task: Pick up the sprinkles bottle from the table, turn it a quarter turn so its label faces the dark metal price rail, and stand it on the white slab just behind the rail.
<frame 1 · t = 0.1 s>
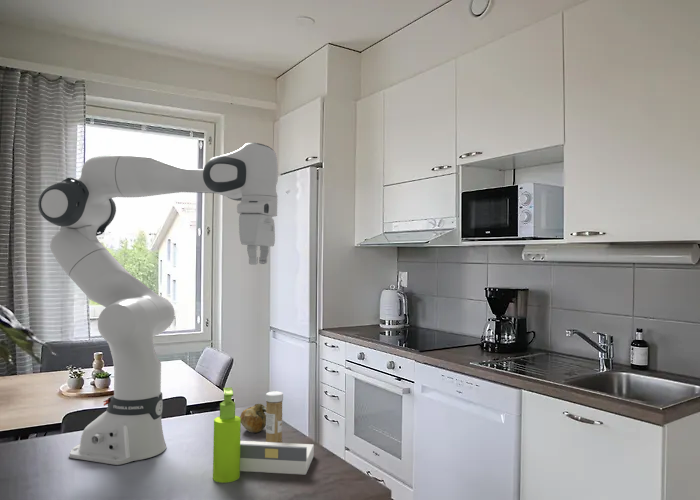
hand: (258, 264, 131), 48 cm above the table, fingers open, 8 cm apart
white slab: (268, 462, 127), on the table
onion: (253, 431, 150), on the table
sprinkles bottle: (273, 444, 140), on the table
soap dispenser: (226, 479, 118), on the table
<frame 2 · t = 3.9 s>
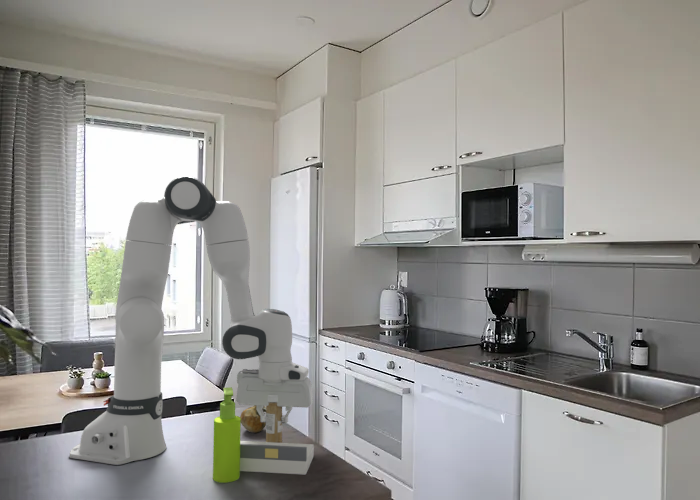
hand: (274, 422, 140), 6 cm above the table, fingers closed on sprinkles bottle, 4 cm apart
sprinkles bottle: (273, 444, 140), on the table, touching gripper
everything else where it was.
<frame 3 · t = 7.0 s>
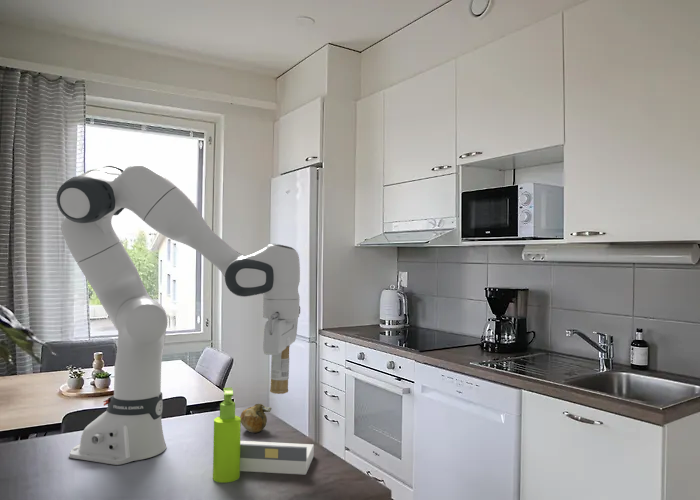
hand: (280, 366, 129), 23 cm above the table, fingers closed on sprinkles bottle, 4 cm apart
sprinkles bottle: (278, 393, 129), point 16 cm above the table, touching gripper
everything else where it was.
when the fingers open (10 cm above the table, at t = 10.1 s): sprinkles bottle moves 1 cm, resting on white slab.
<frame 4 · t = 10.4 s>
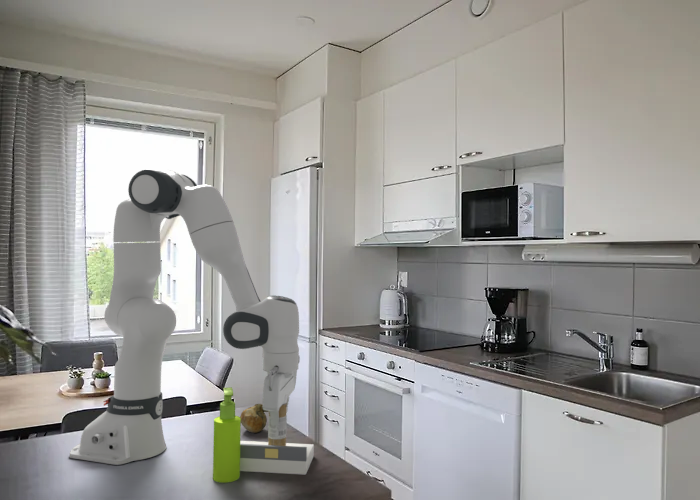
hand: (279, 418, 129), 10 cm above the table, fingers open, 8 cm apart
sprinkles bottle: (276, 450, 127), point 3 cm above the table, touching white slab
everything else where it was.
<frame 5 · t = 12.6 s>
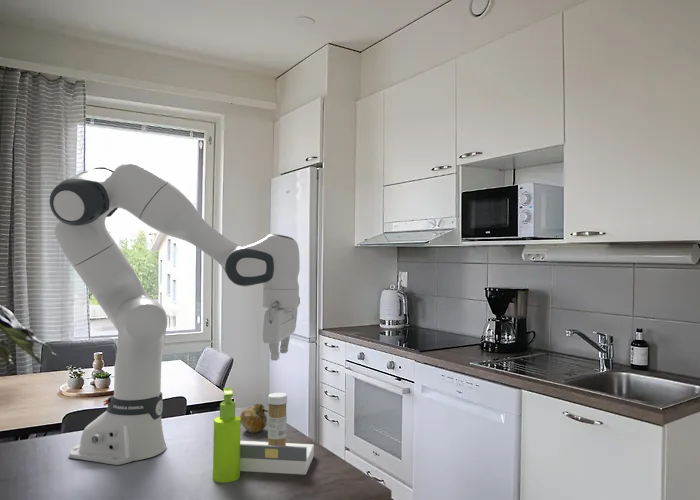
hand: (279, 356, 130), 25 cm above the table, fingers open, 8 cm apart
nothing on the table moved.
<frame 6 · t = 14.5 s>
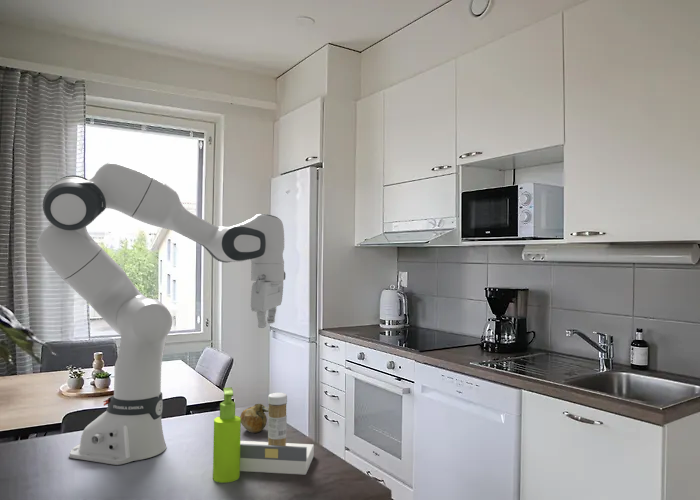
hand: (266, 325, 143), 31 cm above the table, fingers open, 8 cm apart
nothing on the table moved.
at the end: sprinkles bottle inside the target area on the white slab (1.8 cm from its centre), point 2.8 cm above the white slab's base; sprinkles bottle tilted 0°; the gripper is holding nothing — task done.
